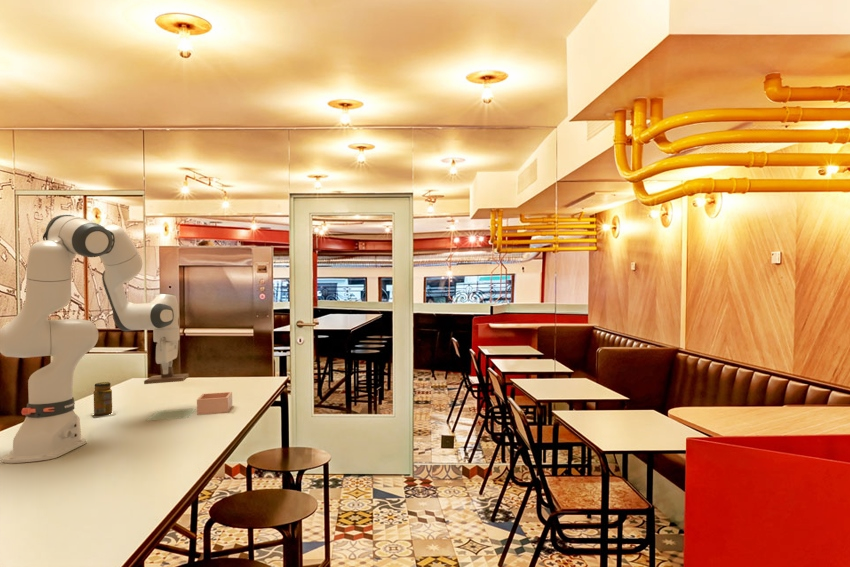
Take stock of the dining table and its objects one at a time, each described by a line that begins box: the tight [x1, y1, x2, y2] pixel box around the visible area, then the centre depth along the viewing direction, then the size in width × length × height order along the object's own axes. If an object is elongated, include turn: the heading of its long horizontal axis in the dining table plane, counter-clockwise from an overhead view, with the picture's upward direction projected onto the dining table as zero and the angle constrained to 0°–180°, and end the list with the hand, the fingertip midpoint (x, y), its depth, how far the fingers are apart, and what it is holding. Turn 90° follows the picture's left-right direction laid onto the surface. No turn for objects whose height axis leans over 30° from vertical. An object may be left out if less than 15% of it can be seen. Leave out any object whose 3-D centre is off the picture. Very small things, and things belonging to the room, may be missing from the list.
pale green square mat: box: [146, 408, 196, 422], centre depth 199 cm, size 14×14×1 cm
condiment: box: [90, 381, 116, 418], centre depth 203 cm, size 7×8×12 cm
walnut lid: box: [143, 366, 190, 385], centre depth 200 cm, size 13×13×5 cm
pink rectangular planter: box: [196, 391, 233, 416], centre depth 204 cm, size 11×11×6 cm
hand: (167, 373), depth 200 cm, fingers closed on walnut lid, 3 cm apart
